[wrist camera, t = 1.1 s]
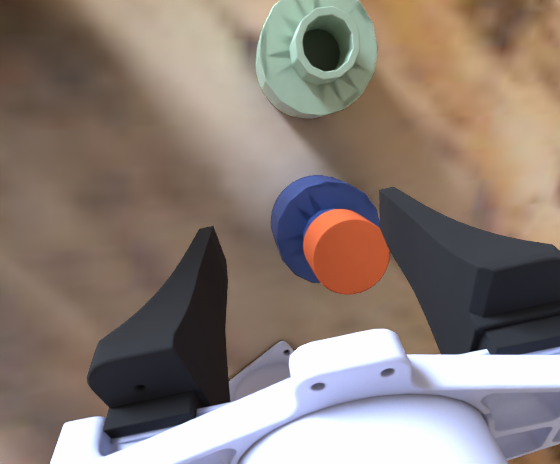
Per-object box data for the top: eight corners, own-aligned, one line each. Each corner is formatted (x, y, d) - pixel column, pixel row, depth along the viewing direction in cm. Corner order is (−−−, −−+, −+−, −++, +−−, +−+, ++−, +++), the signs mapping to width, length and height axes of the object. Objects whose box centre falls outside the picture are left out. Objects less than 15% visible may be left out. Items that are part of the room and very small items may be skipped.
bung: (377, 240, 23) (405, 261, 19) (325, 281, 24) (343, 310, 20) (339, 190, 22) (361, 201, 18) (285, 233, 22) (296, 254, 19)
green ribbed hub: (372, 75, 25) (415, 57, 19) (297, 138, 26) (315, 139, 20) (315, -14, 24) (342, -65, 18) (234, 55, 24) (234, 29, 18)
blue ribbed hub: (375, 225, 28) (413, 248, 22) (307, 279, 29) (326, 317, 23) (324, 155, 26) (350, 161, 20) (252, 215, 27) (257, 237, 21)
